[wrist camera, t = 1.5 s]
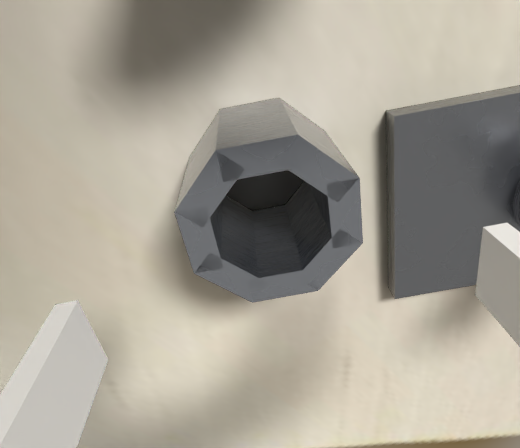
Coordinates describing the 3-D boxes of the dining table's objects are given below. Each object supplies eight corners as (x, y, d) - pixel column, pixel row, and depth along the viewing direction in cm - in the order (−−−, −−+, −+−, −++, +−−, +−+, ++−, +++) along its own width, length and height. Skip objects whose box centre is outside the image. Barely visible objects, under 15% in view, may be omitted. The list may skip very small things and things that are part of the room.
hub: (178, 117, 20) (158, 161, 14) (321, 89, 20) (356, 123, 14) (211, 237, 24) (206, 310, 18) (332, 215, 24) (364, 282, 18)
